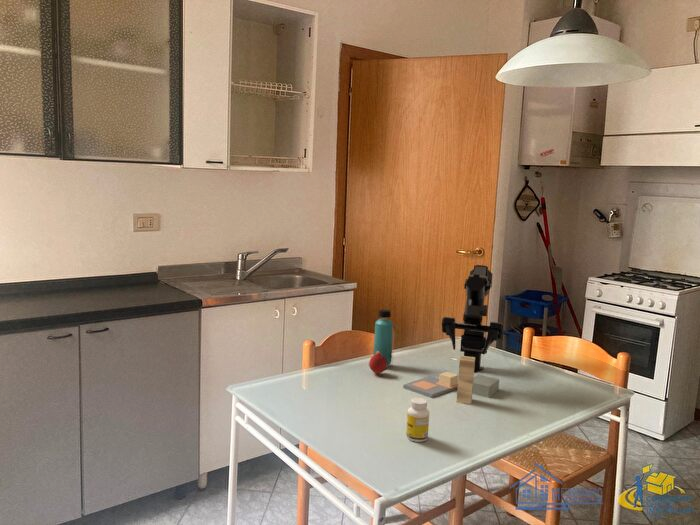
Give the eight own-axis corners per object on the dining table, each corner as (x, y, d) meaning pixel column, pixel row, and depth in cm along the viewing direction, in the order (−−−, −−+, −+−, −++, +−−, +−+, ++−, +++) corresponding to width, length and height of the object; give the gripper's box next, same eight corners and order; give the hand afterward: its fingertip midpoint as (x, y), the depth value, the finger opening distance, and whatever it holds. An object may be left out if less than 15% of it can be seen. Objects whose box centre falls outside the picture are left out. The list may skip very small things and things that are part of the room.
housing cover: (477, 384, 189) (478, 374, 188) (498, 389, 185) (499, 379, 185) (466, 392, 181) (467, 381, 181) (488, 397, 178) (489, 386, 177)
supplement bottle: (404, 433, 149) (406, 396, 147) (425, 433, 149) (427, 396, 148) (408, 442, 143) (410, 404, 142) (429, 442, 144) (432, 404, 143)
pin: (457, 397, 177) (460, 355, 175) (471, 399, 175) (475, 357, 174) (456, 402, 173) (459, 359, 171) (470, 404, 171) (474, 361, 170)
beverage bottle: (391, 369, 200) (395, 312, 197) (372, 368, 200) (375, 311, 197) (390, 364, 206) (394, 308, 204) (372, 363, 206) (375, 307, 204)
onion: (386, 372, 196) (387, 349, 195) (385, 378, 191) (387, 354, 190) (369, 371, 197) (370, 348, 196) (367, 376, 191) (369, 353, 190)
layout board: (431, 378, 193) (432, 366, 193) (461, 387, 185) (462, 375, 185) (403, 387, 182) (404, 375, 182) (433, 398, 175) (434, 385, 174)
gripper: (444, 291, 185) (437, 333, 176) (505, 297, 180) (501, 341, 171) (445, 311, 193) (439, 352, 184) (503, 317, 189) (499, 359, 179)
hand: (469, 351), depth 180 cm, fingers open, 9 cm apart
